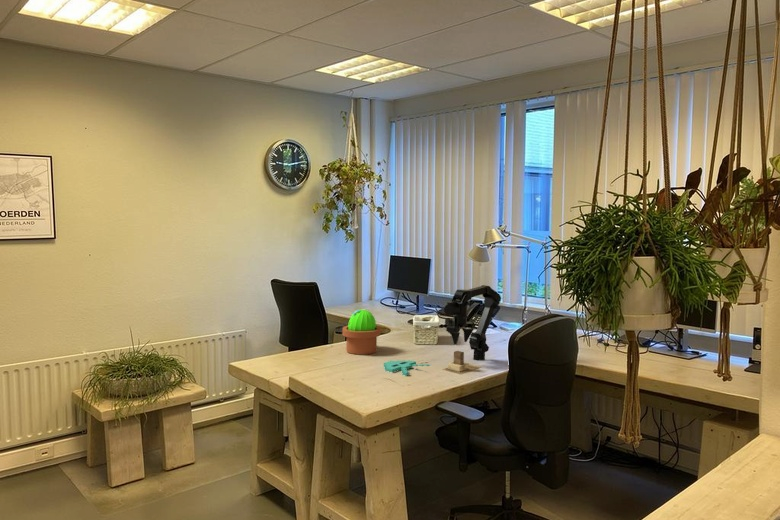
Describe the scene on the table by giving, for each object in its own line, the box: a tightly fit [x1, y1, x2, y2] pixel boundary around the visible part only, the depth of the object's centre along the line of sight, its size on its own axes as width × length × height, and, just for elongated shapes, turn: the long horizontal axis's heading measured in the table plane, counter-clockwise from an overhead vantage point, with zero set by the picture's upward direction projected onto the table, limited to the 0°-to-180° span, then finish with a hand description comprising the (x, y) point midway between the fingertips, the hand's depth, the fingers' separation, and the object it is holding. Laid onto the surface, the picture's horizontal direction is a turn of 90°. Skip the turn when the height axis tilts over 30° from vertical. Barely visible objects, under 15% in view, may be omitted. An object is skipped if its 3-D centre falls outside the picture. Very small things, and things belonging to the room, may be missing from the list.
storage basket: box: [412, 314, 440, 345], centre depth 359 cm, size 24×16×15 cm
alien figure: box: [383, 359, 430, 377], centre depth 296 cm, size 20×2×20 cm
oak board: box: [441, 363, 482, 375], centre depth 291 cm, size 18×12×2 cm, turn 137°
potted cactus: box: [342, 309, 382, 356], centre depth 330 cm, size 22×22×25 cm
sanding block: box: [447, 350, 470, 372], centre depth 289 cm, size 8×7×9 cm
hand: (460, 343), depth 300 cm, fingers open, 9 cm apart
